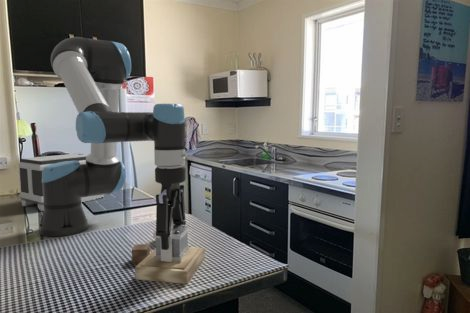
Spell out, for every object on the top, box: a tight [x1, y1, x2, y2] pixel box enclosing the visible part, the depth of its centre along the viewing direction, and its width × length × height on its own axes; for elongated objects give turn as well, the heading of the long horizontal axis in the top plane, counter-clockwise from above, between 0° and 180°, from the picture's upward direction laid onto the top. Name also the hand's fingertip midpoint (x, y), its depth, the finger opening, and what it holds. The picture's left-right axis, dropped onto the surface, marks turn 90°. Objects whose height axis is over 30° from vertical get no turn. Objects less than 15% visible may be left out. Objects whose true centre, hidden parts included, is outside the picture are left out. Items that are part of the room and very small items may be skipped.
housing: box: [152, 225, 191, 262], centre depth 90 cm, size 7×7×7 cm
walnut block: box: [131, 243, 151, 265], centre depth 95 cm, size 4×4×4 cm
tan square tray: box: [134, 246, 206, 285], centre depth 90 cm, size 13×15×3 cm
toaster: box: [17, 152, 105, 212], centre depth 162 cm, size 18×34×21 cm, turn 146°
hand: (172, 254), depth 90 cm, fingers closed on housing, 7 cm apart
